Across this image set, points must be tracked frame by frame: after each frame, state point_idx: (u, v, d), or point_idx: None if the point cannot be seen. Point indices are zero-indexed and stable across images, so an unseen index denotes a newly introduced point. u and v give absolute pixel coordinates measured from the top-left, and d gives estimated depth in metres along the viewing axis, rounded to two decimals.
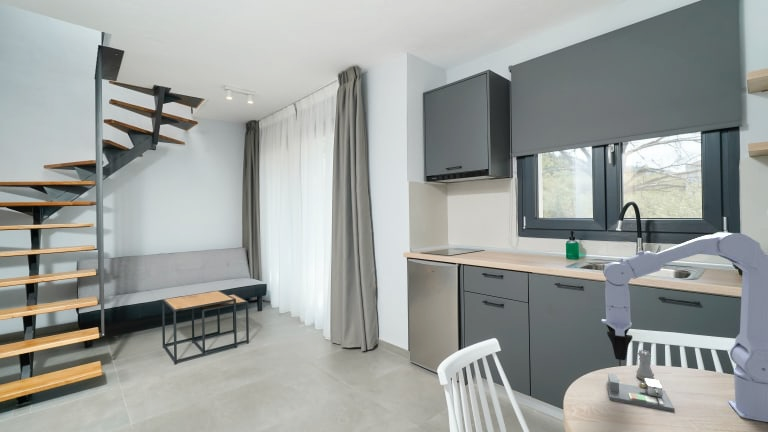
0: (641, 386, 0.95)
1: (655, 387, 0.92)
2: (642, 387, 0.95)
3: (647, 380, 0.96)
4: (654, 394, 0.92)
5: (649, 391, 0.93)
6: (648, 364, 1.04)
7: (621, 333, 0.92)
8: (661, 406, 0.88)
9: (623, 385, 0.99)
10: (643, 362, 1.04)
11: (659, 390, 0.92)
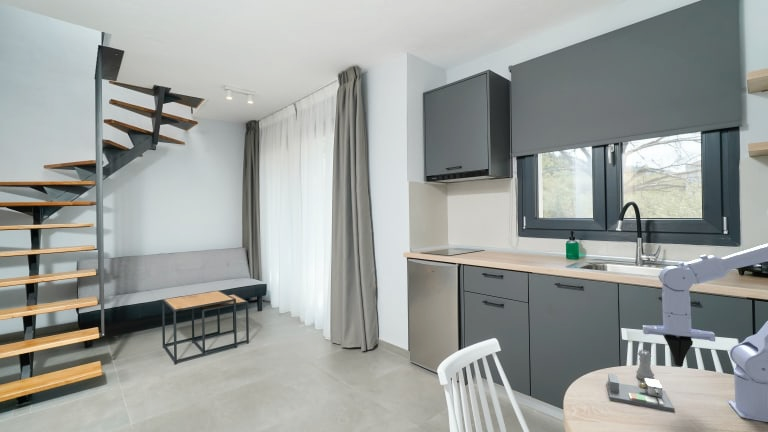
0: (641, 386, 0.95)
1: (655, 387, 0.92)
2: (642, 387, 0.95)
3: (647, 380, 0.96)
4: (654, 394, 0.92)
5: (649, 391, 0.93)
6: (648, 364, 1.04)
7: (643, 330, 0.95)
8: (661, 406, 0.88)
9: (623, 385, 0.99)
10: (643, 362, 1.04)
11: (659, 390, 0.92)
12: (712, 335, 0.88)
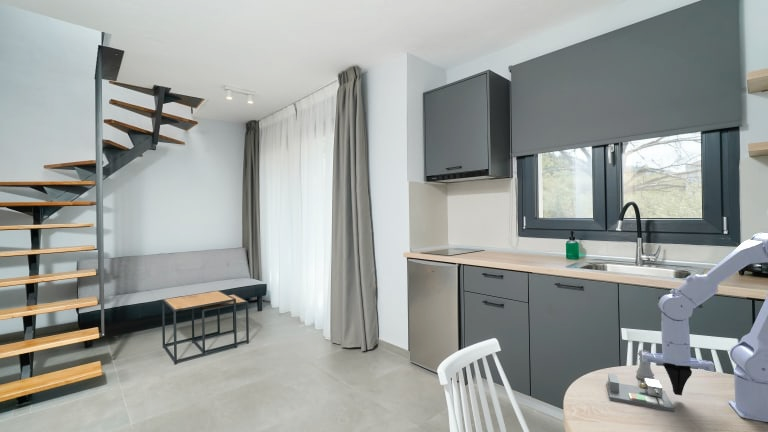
0: (641, 386, 0.95)
1: (655, 387, 0.92)
2: (642, 387, 0.95)
3: (647, 380, 0.96)
4: (654, 394, 0.92)
5: (649, 391, 0.93)
6: (648, 364, 1.04)
7: (642, 358, 0.95)
8: (661, 406, 0.88)
9: (623, 385, 0.99)
10: (643, 362, 1.04)
11: (659, 390, 0.92)
12: (711, 365, 0.88)
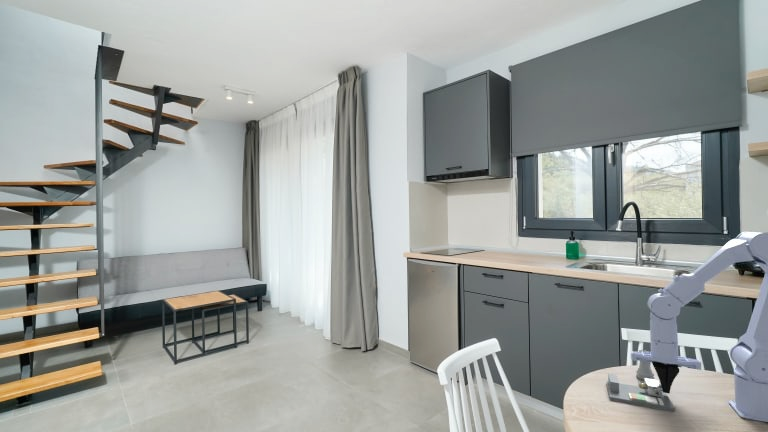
0: (641, 386, 0.95)
1: (655, 387, 0.92)
2: (642, 387, 0.95)
3: (647, 380, 0.96)
4: (654, 394, 0.92)
5: (649, 391, 0.93)
6: (648, 364, 1.04)
7: (631, 357, 0.96)
8: (661, 406, 0.88)
9: (623, 385, 0.99)
10: (643, 362, 1.04)
11: (659, 390, 0.92)
12: (698, 363, 0.89)
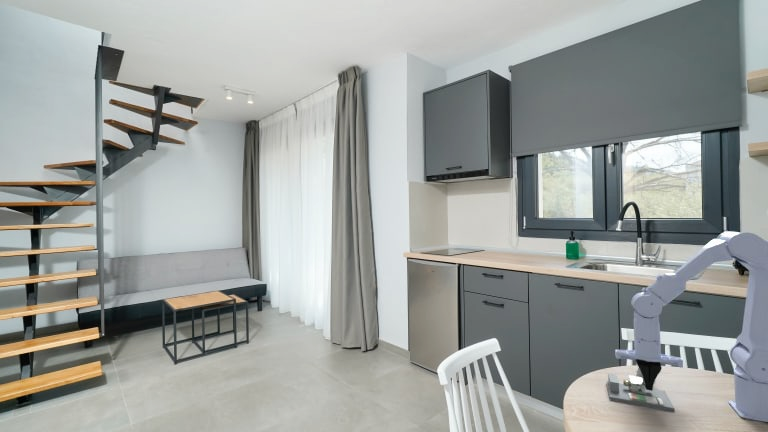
0: (625, 383, 0.97)
1: (638, 384, 0.94)
2: (626, 384, 0.96)
3: (631, 377, 0.97)
4: (637, 391, 0.94)
5: (632, 388, 0.94)
6: None
7: (615, 355, 0.98)
8: (661, 406, 0.88)
9: (623, 385, 0.99)
10: None
11: (642, 387, 0.93)
12: (680, 361, 0.91)
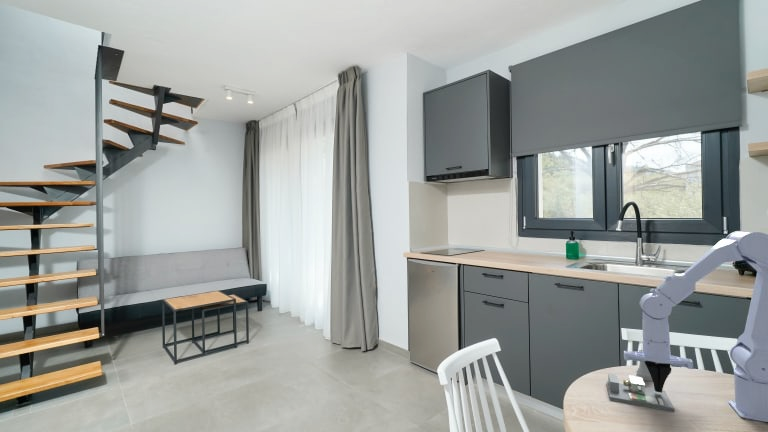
0: (625, 383, 0.97)
1: (638, 384, 0.94)
2: (626, 384, 0.96)
3: (631, 377, 0.97)
4: (637, 391, 0.94)
5: (632, 388, 0.94)
6: None
7: (624, 356, 0.97)
8: (661, 406, 0.88)
9: (623, 385, 0.99)
10: (643, 362, 1.04)
11: (642, 387, 0.93)
12: (690, 363, 0.90)
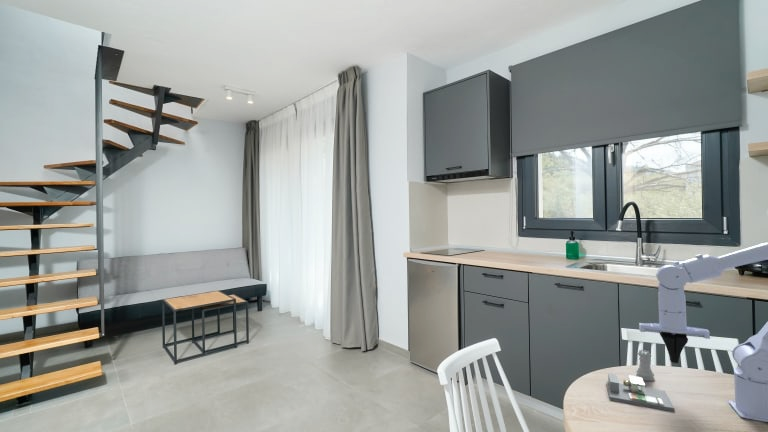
0: (625, 383, 0.97)
1: (638, 384, 0.94)
2: (626, 384, 0.96)
3: (631, 377, 0.97)
4: (637, 391, 0.94)
5: (632, 388, 0.94)
6: (648, 364, 1.04)
7: (639, 328, 0.97)
8: (661, 406, 0.88)
9: (623, 385, 0.99)
10: (643, 362, 1.04)
11: (642, 387, 0.93)
12: (707, 332, 0.90)
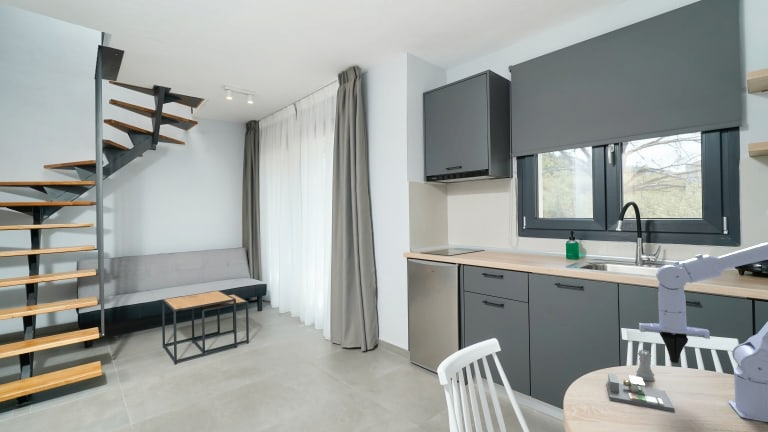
0: (625, 383, 0.97)
1: (638, 384, 0.94)
2: (626, 384, 0.96)
3: (631, 377, 0.97)
4: (637, 391, 0.94)
5: (632, 388, 0.94)
6: (648, 364, 1.04)
7: (639, 328, 0.97)
8: (661, 406, 0.88)
9: (623, 385, 0.99)
10: (643, 362, 1.04)
11: (642, 387, 0.93)
12: (707, 332, 0.90)
